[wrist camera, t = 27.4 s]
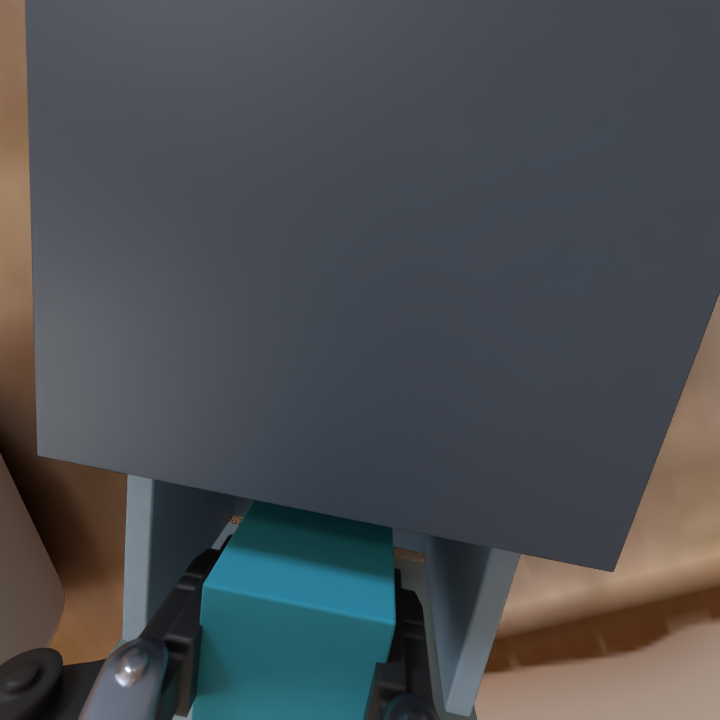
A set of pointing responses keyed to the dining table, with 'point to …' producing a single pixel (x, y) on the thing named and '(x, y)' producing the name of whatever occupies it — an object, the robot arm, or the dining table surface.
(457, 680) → the drawer
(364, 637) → the teal cube block
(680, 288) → the cabinet
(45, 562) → the grey rounded piece
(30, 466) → the dining table surface
